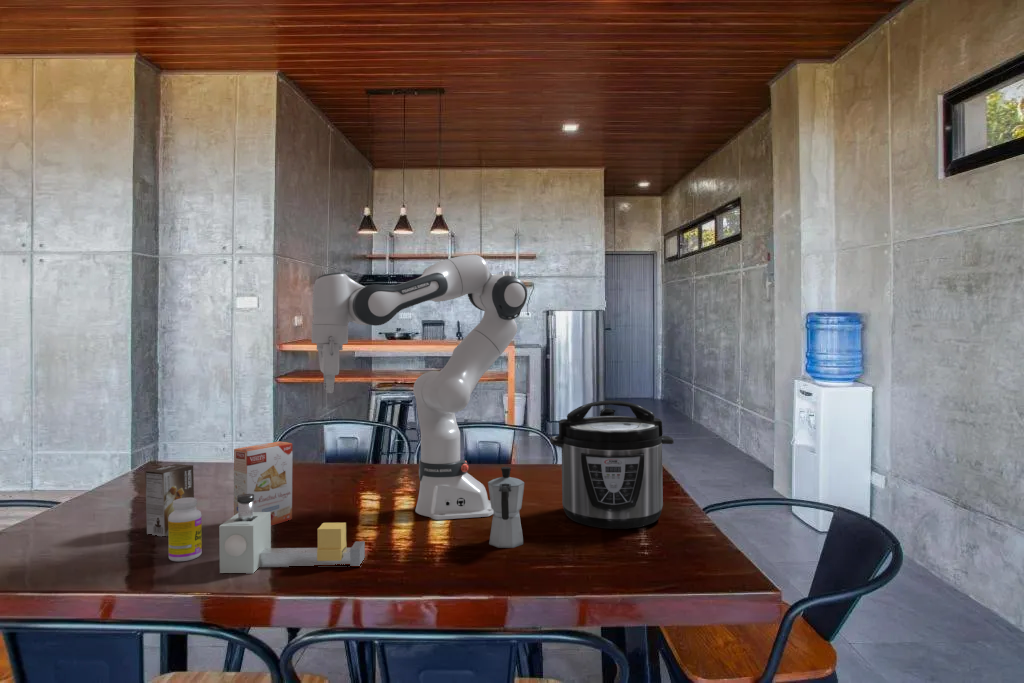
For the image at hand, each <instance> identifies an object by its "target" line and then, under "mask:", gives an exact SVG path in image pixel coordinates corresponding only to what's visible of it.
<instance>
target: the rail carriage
mask: <svg viewBox="0 0 1024 683" xmlns="http://www.w3.org/2000/svg"><path fill="white" fill-rule="evenodd" d="M347 545H348V544H347V522H323V523H321V525H320V526H319V527H318V528H317V548H318V549H317V561H341V560H342V550H343V549H344V548H348V547H347Z"/></svg>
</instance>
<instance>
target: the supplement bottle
mask: <svg viewBox="0 0 1024 683" xmlns="http://www.w3.org/2000/svg"><path fill="white" fill-rule="evenodd" d="M197 504H198V500H197V498H196V497H194V498H180V499H176V500H174V501H173V507H174V511H173V512H172V513H171V514H170V515H169V517H168V536H167V537H168V539H167V540H168V559H169V560H170V561H172V562H187V561H192V560H195V559H196V558H199V557H201V555H202V553H203V551H202V550H203V549H202V548H203V547H202V546H203V540H202V539H203V538H202V537H203V533H202V530H203V529H202V528H203V527H202V524H203V520H202V517H203V516H202V511H201V510H200V509H198V508H197Z"/></svg>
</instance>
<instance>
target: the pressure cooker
mask: <svg viewBox="0 0 1024 683" xmlns="http://www.w3.org/2000/svg"><path fill="white" fill-rule="evenodd" d="M608 405H609V406H610V405H612V406H618V407H619V406H620V407H627V408H629V409H630V410H631V411H632V414H634V416H627V415H626V416H625V415H623V416H622V415H616V414H615V412H616V410H615V409H613V408H610V407H604V408H602V409H601V410H600V413H599V415H598V416H597V415H596V416H591V417H586V415H587V414H588V413H589V412H590V410H591V409H592V407H601V406H608ZM663 430H664V429H663V421H662V419H660V418H657V417H655V414H654V412H652V411H651V410H649V409H647V408H646V407H643V406H641V405H639V404H637V403H633V402H629V401H623V400H600V401H598V400H597V401H593V402H590V403H586V404H583V405H581V406H578V407H577V408H574V409H573V410H571V411H570V412H568V414H566V418H562V419H560V420H559V421H558V435H555V436H550V439H549V440H550V441H549V443H550V445H553V446H556V447H559V448H561V485H562V486H561V488H562V489H561V492H562V493H561V496H562V497H561V499H562V502H561V503H562V508H563V509H562V510H563V511H564V513H565V515H566V517H567V518H569V519H570V520H572V521H573V522H576V523H578V524H581V525H585V526H589V527H592V528H593V527H594V528H599V529H600V528H601V529H620V530H621V529H634V528H641V527H646V526H649V525H651V524H654V523H655V522H657V521H658V520H659V518H660V517H661V515H662V511H663V506H664V502H663V500H664V499H663V498H664V497H663V494H664V493H663V445H673V444H674V438H673V437H671V436H669V435H664V434H663V432H664V431H663Z"/></svg>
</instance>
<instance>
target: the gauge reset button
mask: <svg viewBox="0 0 1024 683" xmlns="http://www.w3.org/2000/svg"><path fill="white" fill-rule="evenodd" d="M253 500H254V494H242V495H238V496H237V502H238V521H252V520H253Z"/></svg>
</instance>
